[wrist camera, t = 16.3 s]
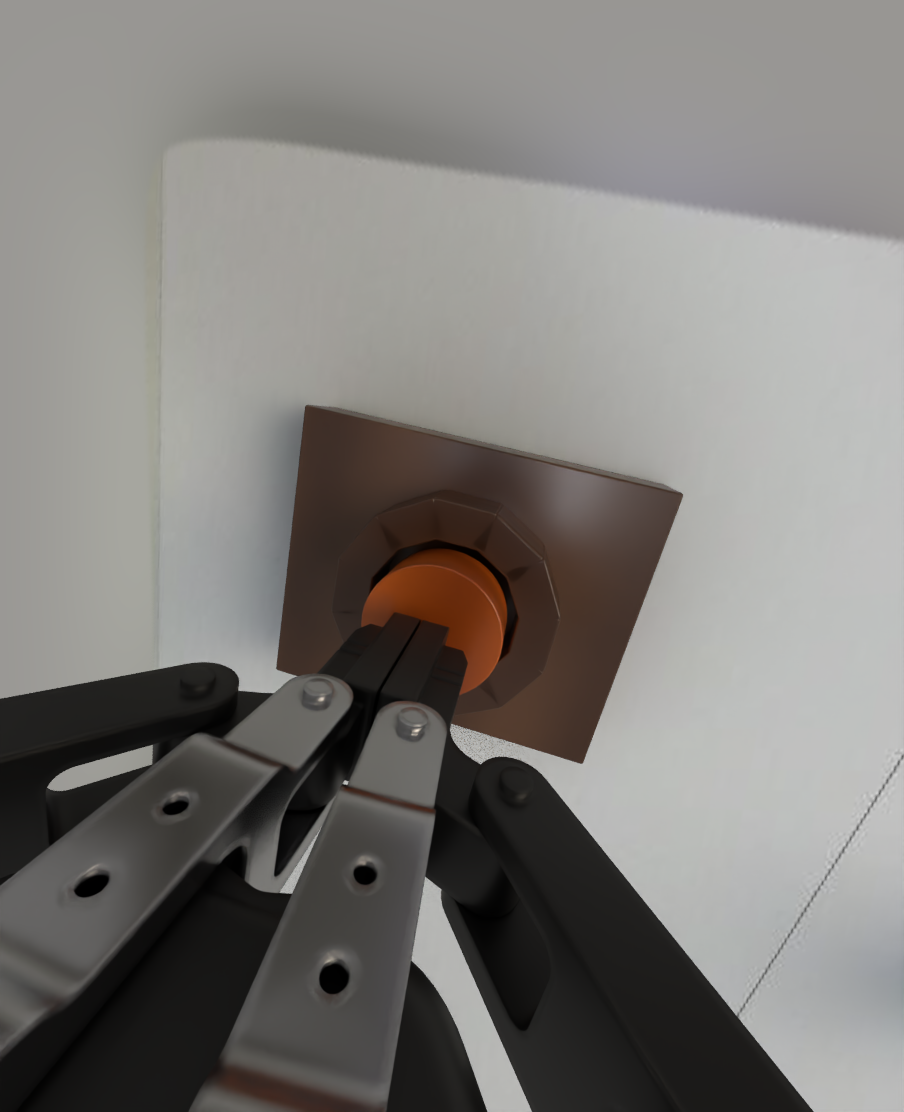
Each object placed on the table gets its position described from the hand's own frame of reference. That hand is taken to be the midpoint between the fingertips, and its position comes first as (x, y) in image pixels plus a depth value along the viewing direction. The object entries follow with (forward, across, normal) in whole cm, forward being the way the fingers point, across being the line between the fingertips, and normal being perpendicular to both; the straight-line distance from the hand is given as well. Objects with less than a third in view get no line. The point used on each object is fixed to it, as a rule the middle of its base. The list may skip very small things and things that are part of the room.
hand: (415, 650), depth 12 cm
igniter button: (+2, 0, 0) cm, 2 cm away
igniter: (+6, 0, 0) cm, 6 cm away
